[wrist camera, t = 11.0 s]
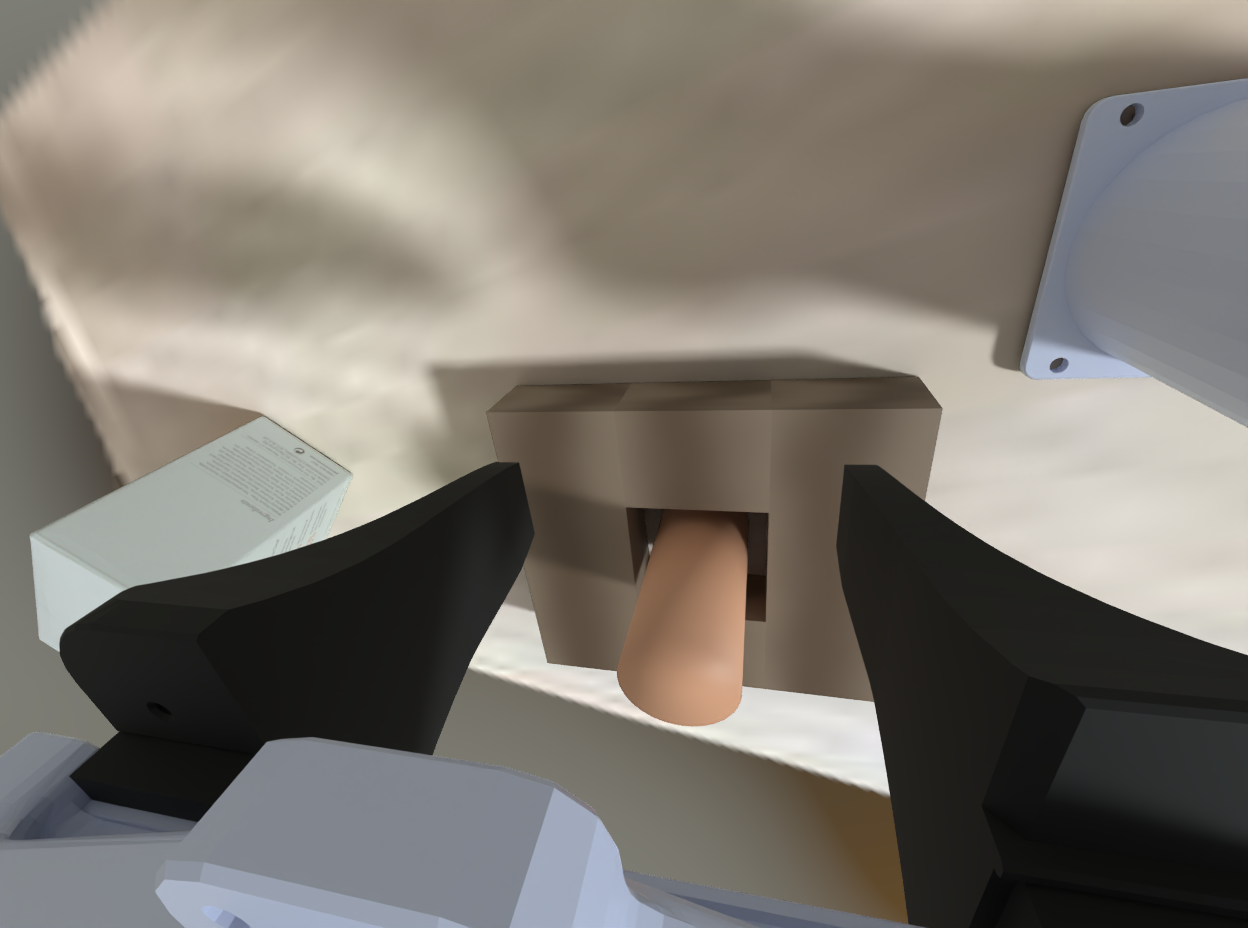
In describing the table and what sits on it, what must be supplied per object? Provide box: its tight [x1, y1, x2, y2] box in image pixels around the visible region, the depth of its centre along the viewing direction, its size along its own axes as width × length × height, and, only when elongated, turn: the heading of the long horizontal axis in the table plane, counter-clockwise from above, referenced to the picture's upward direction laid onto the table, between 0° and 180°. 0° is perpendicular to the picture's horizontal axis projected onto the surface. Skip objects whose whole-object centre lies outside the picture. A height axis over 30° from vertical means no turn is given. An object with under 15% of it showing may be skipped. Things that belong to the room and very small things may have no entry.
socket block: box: [486, 377, 943, 702], centre depth 23 cm, size 16×14×3 cm
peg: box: [617, 509, 749, 726], centre depth 21 cm, size 4×4×9 cm
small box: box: [30, 416, 352, 652], centre depth 25 cm, size 8×6×10 cm
